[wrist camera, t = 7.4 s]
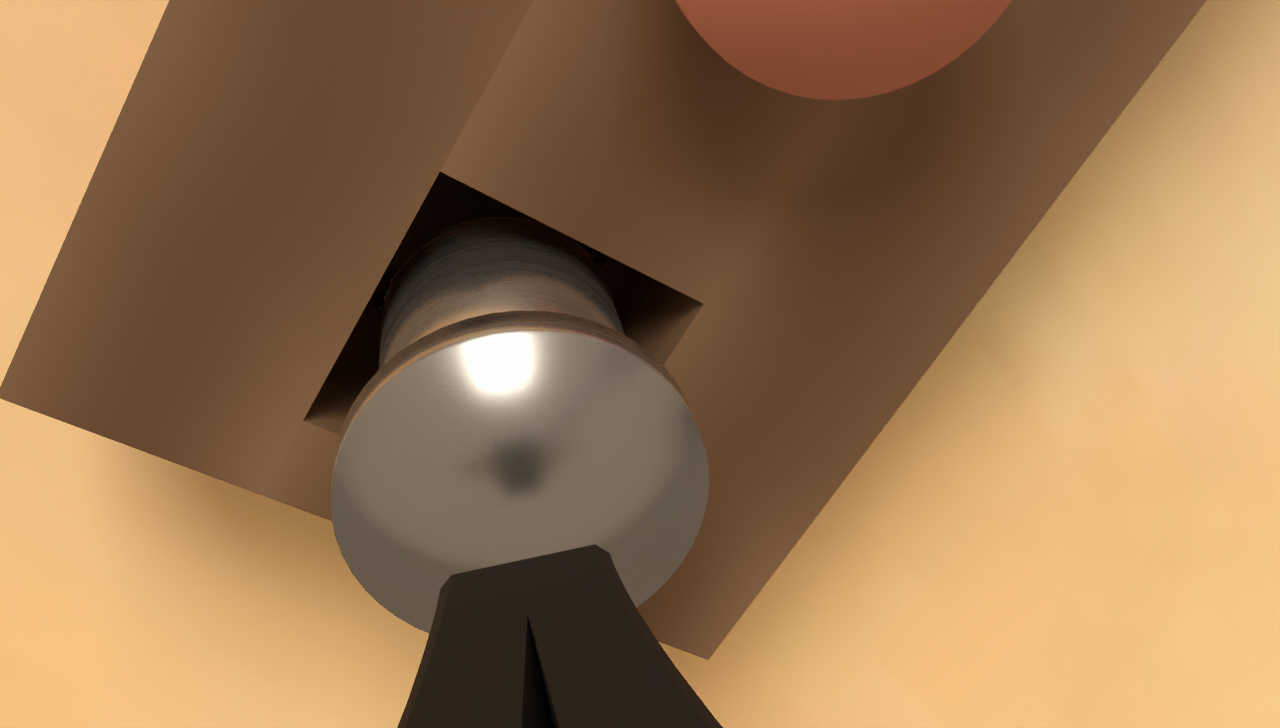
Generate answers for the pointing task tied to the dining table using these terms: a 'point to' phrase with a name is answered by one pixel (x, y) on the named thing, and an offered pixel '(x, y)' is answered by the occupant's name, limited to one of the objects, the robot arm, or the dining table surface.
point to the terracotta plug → (840, 40)
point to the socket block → (573, 204)
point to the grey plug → (511, 425)
